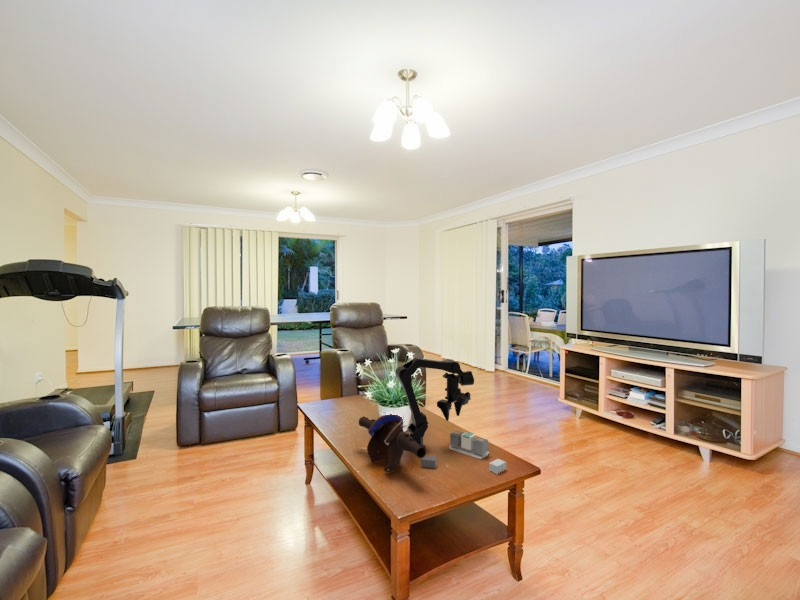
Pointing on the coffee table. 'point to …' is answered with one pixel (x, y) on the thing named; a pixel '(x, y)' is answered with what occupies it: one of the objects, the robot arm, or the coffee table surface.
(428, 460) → the block
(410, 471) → the coffee table surface
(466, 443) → the block
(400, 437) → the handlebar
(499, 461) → the terminal block
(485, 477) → the coffee table surface
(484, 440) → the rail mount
